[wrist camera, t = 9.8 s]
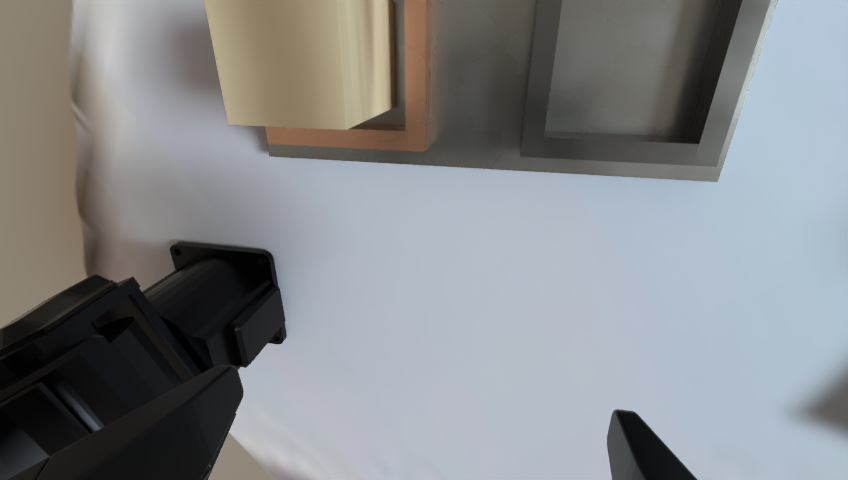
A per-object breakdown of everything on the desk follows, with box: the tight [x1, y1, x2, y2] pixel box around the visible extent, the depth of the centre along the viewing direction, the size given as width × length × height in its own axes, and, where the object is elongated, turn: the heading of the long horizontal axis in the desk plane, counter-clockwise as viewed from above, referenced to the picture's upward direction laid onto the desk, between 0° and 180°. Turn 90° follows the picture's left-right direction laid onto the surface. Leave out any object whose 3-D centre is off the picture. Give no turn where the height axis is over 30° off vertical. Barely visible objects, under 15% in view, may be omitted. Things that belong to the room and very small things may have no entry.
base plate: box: [265, 0, 778, 182], centre depth 16 cm, size 20×9×2 cm, turn 89°
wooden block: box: [204, 0, 395, 130], centre depth 14 cm, size 4×4×6 cm
